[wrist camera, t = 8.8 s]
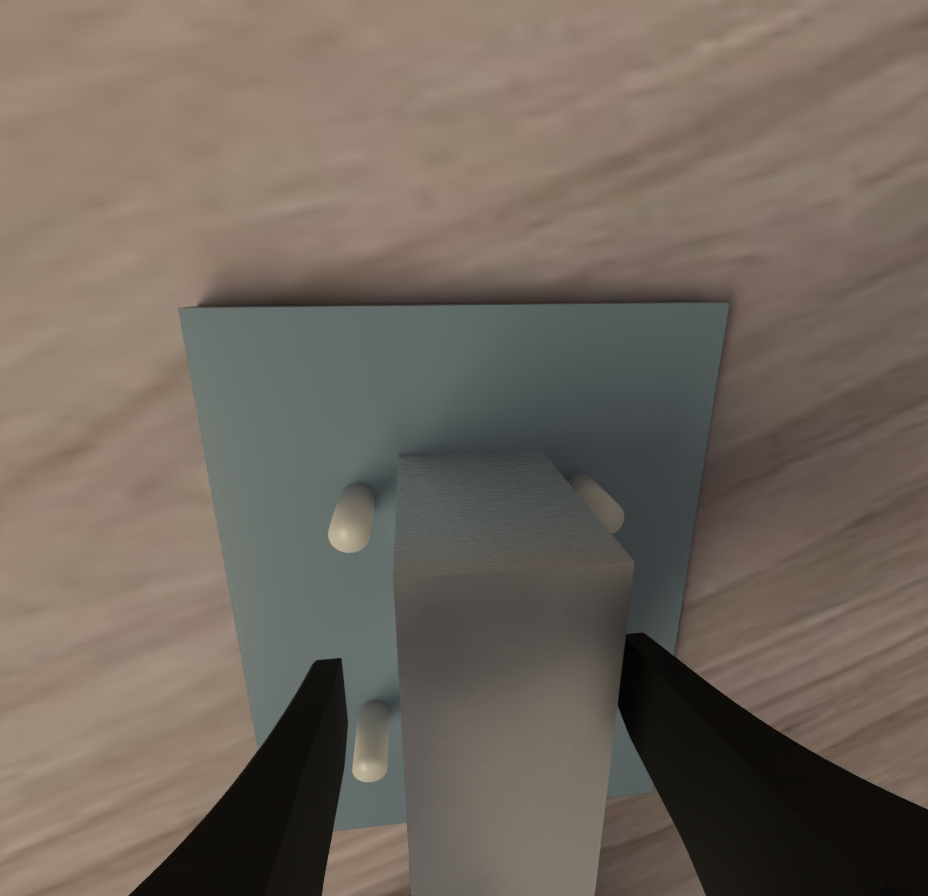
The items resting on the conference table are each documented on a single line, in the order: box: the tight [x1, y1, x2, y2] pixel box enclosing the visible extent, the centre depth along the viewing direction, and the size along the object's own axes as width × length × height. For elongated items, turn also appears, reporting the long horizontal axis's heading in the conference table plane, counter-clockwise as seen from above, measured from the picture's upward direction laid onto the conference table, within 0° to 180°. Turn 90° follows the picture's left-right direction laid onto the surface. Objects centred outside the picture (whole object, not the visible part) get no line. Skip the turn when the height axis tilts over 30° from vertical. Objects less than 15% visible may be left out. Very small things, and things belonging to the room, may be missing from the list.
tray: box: [178, 302, 729, 831], centre depth 15 cm, size 18×14×3 cm
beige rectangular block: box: [393, 449, 635, 896], centre depth 12 cm, size 10×4×6 cm, turn 0°
